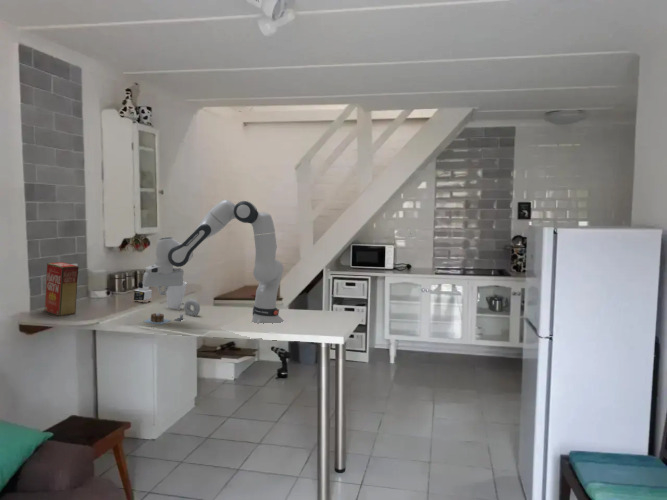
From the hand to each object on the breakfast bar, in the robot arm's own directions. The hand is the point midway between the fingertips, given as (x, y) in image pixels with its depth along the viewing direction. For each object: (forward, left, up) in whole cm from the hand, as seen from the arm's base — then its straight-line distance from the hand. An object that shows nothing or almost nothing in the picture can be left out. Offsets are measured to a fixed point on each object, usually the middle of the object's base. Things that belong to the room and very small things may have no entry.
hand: (162, 294), depth 256 cm
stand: (-8, -7, -15) cm, 18 cm away
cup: (+7, -30, -15) cm, 34 cm away
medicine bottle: (+30, -36, -15) cm, 49 cm away
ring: (+1, +2, -14) cm, 14 cm away
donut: (-8, -20, -15) cm, 26 cm away
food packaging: (+50, +10, -15) cm, 53 cm away
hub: (+1, +2, -15) cm, 15 cm away
